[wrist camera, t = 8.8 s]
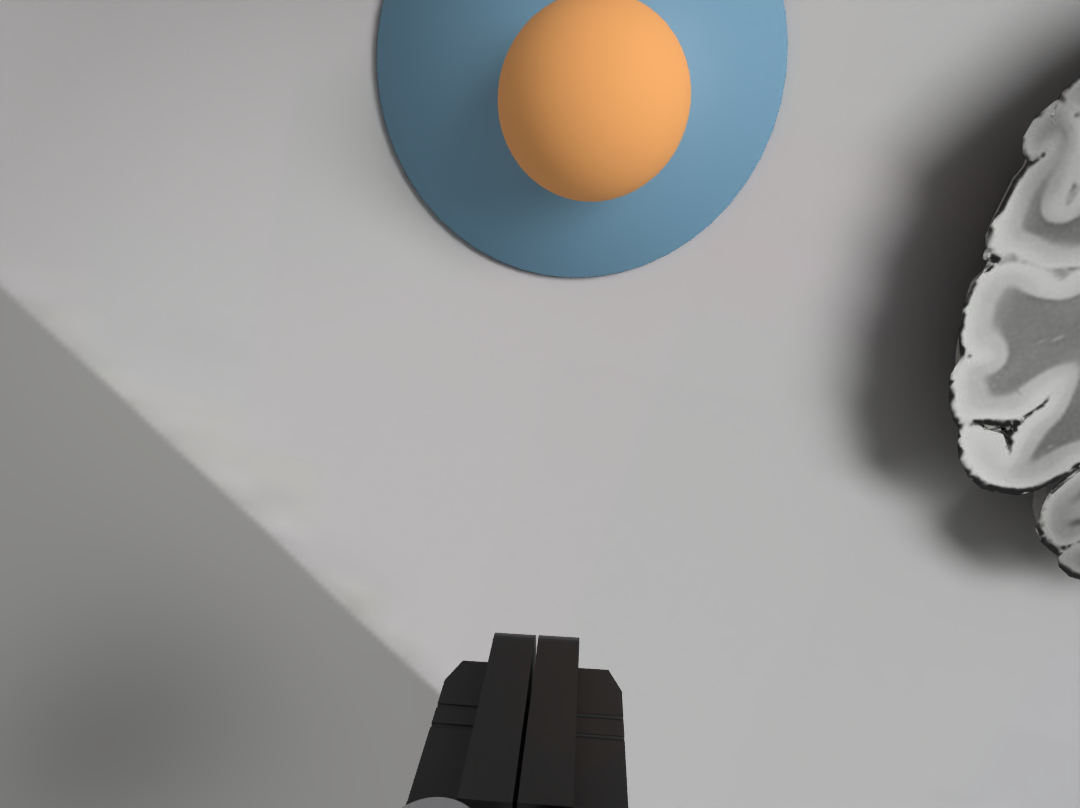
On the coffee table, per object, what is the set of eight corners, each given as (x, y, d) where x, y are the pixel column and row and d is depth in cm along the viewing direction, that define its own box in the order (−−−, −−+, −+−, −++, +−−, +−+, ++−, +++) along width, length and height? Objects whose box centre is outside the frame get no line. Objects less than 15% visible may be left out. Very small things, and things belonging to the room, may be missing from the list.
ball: (517, -41, 16) (472, 196, 18) (742, 24, 16) (667, 244, 19) (524, -31, 21) (487, 156, 23) (699, 19, 21) (643, 196, 24)
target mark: (368, -168, 21) (366, -171, 21) (811, -175, 20) (814, -178, 20) (387, 271, 24) (385, 272, 24) (761, 282, 24) (762, 282, 23)
